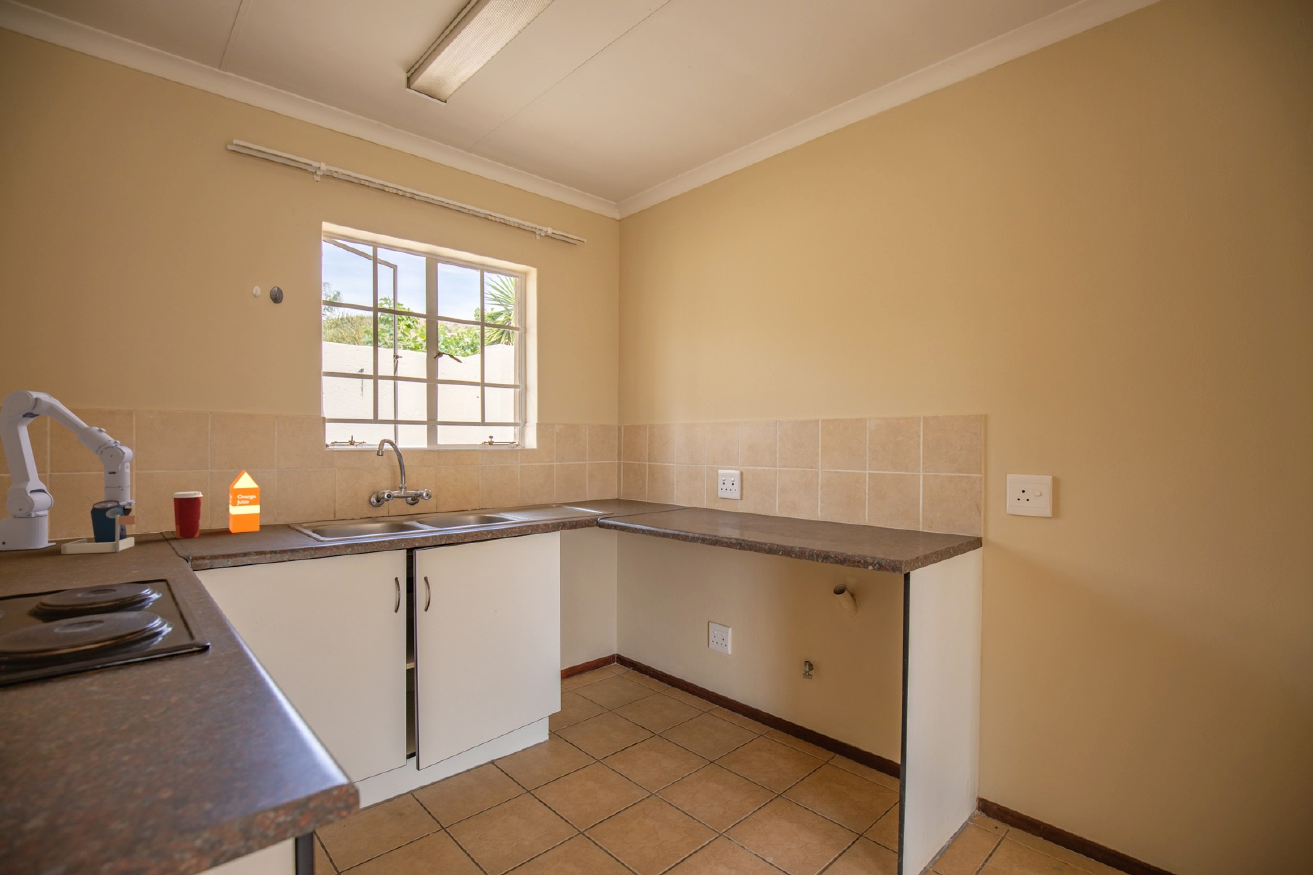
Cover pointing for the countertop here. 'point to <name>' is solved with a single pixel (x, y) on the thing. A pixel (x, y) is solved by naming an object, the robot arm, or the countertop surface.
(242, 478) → the orange juice
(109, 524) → the soda can
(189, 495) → the paper cup
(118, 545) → the shallow cream tray
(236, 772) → the countertop surface
